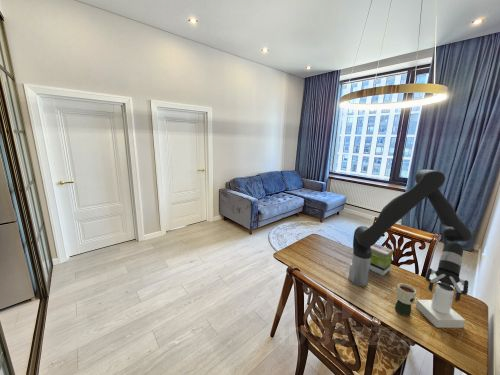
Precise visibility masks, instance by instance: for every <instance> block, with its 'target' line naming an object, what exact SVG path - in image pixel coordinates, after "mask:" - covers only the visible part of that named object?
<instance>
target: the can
mask: <svg viewBox="0 0 500 375" xmlns="http://www.w3.org/2000/svg"><path fill="white" fill-rule="evenodd" d="M433 290H434V291H433V293H432V298H431V300H432V303H431V306H432V308H433V309H434V310H436V311H437V312H439V313H442V314H448V313H449V312H450V308H452V303H453V300H454V296H455V291H454V290H455V289H454V288H453V286H451V285H448V284H445V283H441V282H436V285H435V287H434V289H433Z"/></svg>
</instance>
